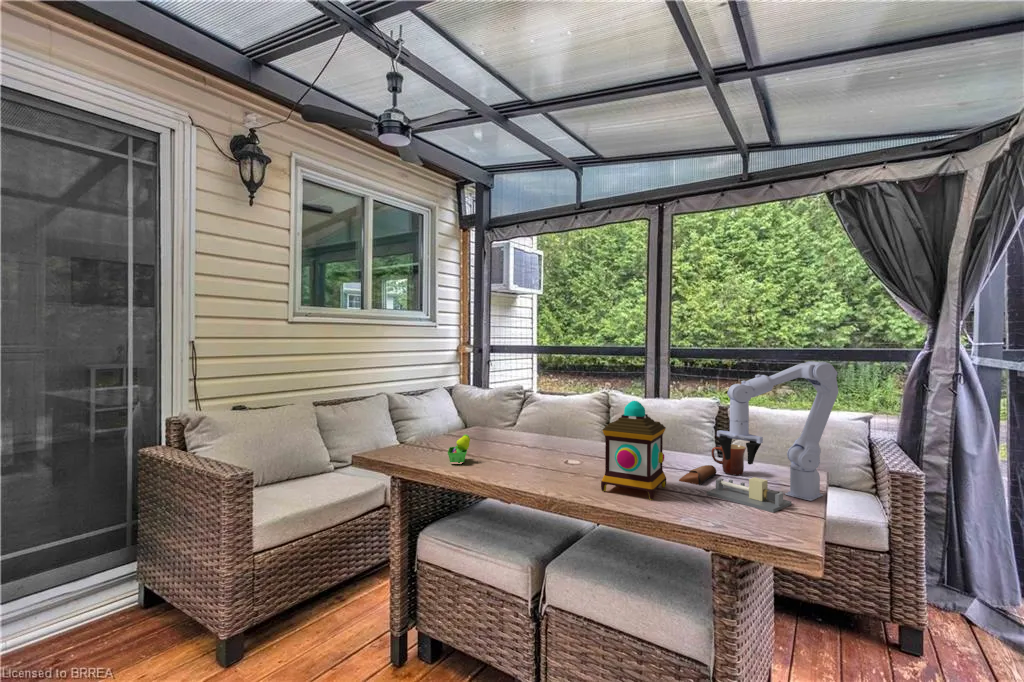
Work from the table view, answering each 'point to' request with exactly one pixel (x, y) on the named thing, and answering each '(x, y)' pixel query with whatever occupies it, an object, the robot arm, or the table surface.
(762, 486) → the cream block on rod
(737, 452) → the mug
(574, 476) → the table surface
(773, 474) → the table surface
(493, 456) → the table surface
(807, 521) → the table surface
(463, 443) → the fruit basket
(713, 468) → the sunglasses case
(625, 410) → the decorative lantern
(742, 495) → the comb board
